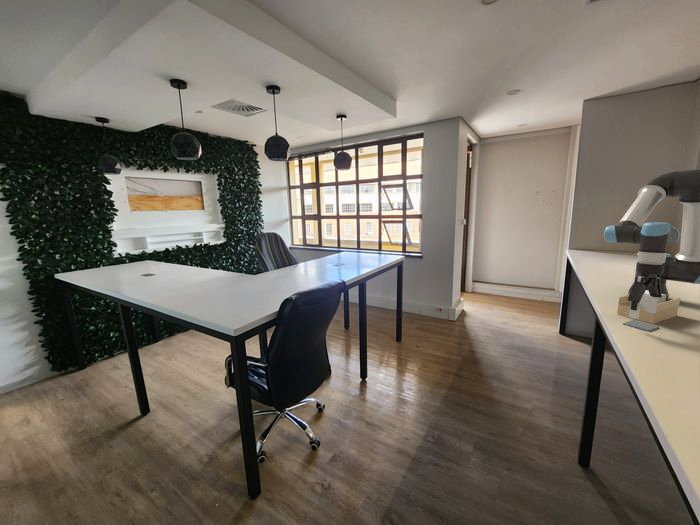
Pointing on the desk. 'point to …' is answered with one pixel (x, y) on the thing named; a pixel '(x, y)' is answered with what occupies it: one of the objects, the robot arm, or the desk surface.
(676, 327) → the desk surface
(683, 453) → the desk surface
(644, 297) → the small box
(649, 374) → the desk surface
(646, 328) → the mat
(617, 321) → the desk surface
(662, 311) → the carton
